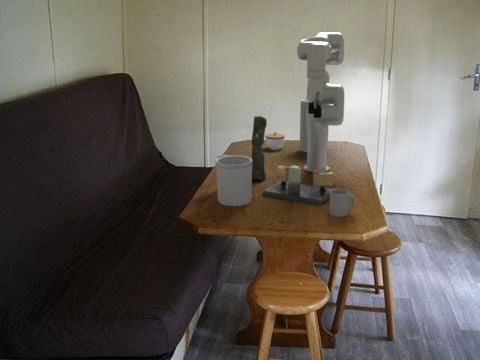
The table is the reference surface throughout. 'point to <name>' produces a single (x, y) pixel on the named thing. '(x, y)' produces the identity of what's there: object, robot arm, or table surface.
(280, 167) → the knob
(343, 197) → the cup
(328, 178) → the knob
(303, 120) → the white upright slab
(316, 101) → the robot arm
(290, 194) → the level plate
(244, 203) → the utensil holder
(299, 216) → the table surface
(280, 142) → the lidded jar
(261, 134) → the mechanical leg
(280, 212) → the table surface
